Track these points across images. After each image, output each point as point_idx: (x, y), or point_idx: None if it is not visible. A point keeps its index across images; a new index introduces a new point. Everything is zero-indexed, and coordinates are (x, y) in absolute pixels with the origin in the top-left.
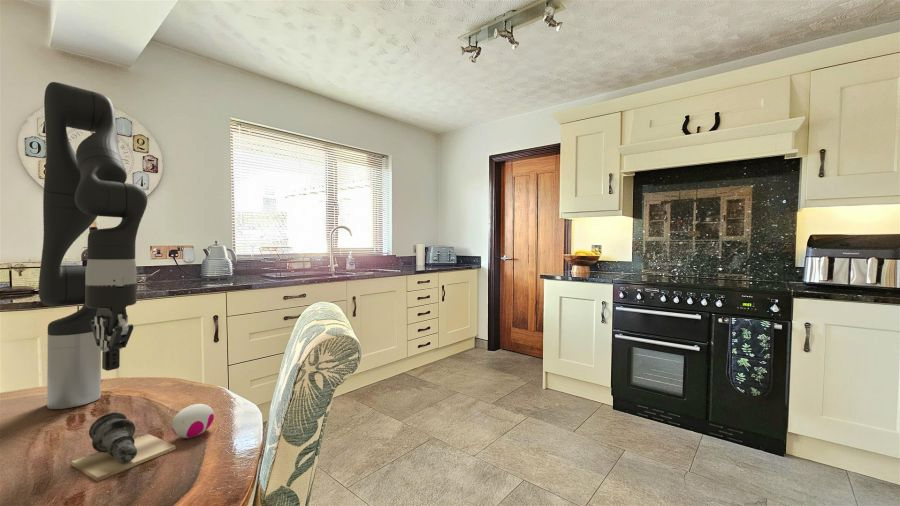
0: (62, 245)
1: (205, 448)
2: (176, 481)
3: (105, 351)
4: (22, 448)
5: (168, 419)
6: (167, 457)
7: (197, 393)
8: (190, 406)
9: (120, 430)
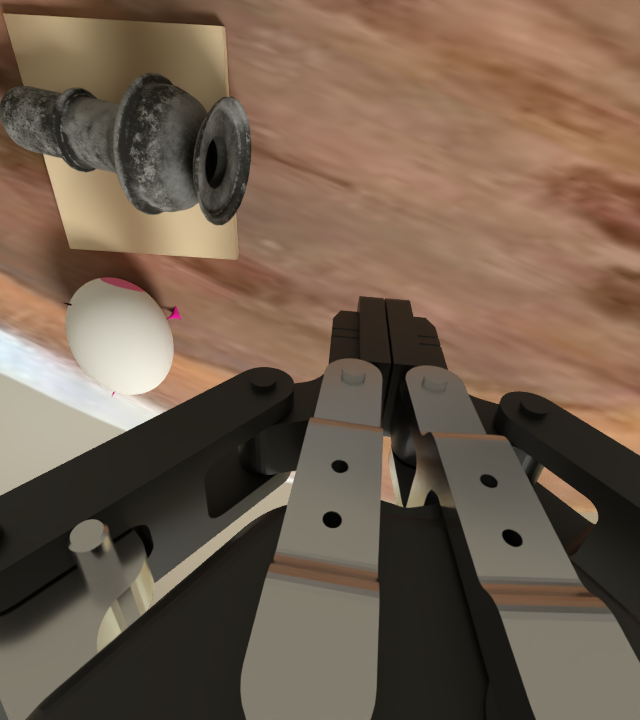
0: None
1: (17, 281)
2: None
3: (348, 362)
4: None
5: (324, 345)
6: (35, 206)
7: None
8: (105, 359)
9: (110, 156)
